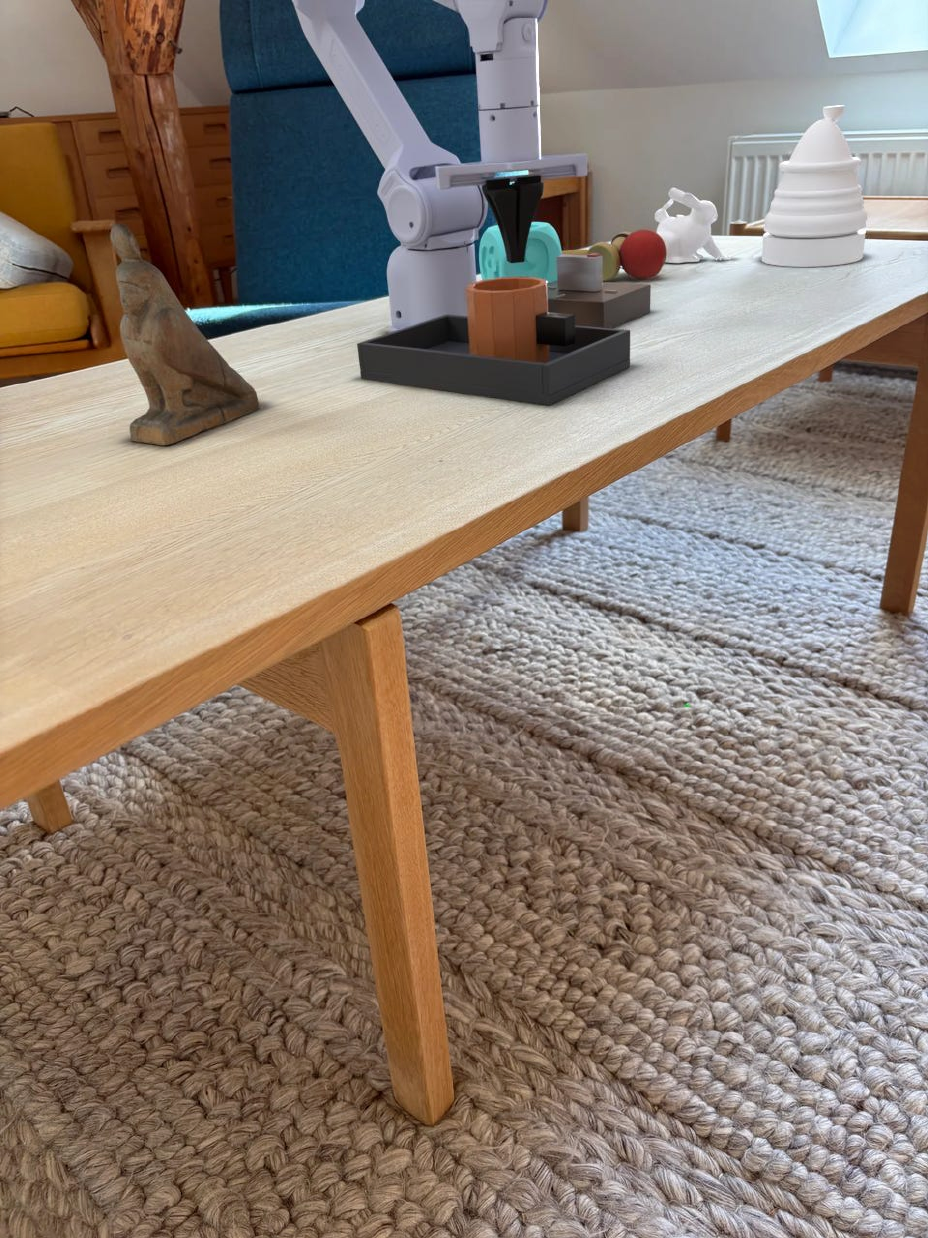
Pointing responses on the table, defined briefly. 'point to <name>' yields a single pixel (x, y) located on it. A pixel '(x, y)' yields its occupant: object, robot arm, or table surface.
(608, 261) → the kendama
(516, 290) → the pot
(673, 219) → the rabbit figurine
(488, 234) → the decorative dice
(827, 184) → the honey pot
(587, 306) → the panel
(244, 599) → the table surface
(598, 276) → the grey block with red
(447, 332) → the dark grey tray
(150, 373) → the worn brown figurine
